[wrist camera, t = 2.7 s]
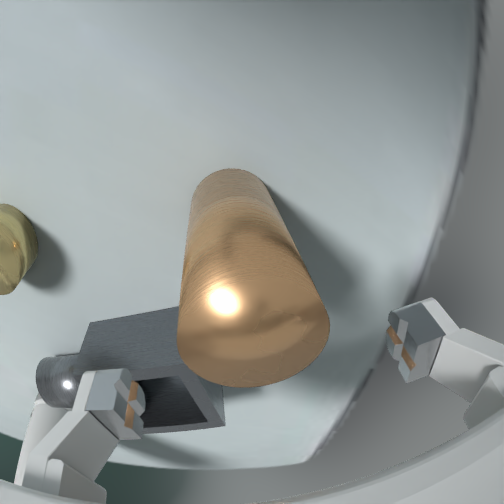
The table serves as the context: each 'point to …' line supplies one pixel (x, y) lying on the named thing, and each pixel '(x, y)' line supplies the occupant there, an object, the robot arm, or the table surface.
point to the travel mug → (37, 431)
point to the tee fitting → (139, 372)
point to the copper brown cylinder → (245, 288)
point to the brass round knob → (15, 247)
